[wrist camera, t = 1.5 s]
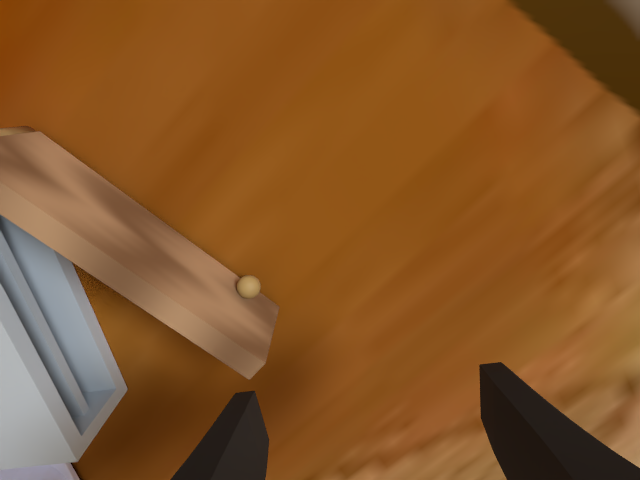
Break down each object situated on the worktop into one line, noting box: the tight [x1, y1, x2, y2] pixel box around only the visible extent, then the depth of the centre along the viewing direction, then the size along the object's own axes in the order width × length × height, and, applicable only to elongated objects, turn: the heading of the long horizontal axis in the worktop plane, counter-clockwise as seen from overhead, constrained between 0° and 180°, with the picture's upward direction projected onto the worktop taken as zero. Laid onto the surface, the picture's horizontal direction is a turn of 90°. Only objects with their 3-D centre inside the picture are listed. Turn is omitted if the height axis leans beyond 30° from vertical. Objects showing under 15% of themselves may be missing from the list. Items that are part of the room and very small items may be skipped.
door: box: [0, 126, 279, 380], centre depth 17 cm, size 15×2×5 cm, turn 50°
